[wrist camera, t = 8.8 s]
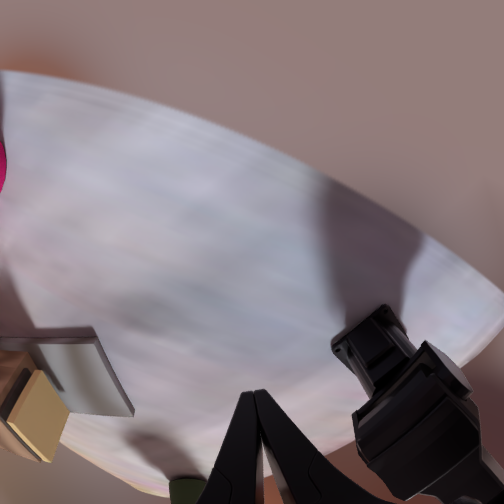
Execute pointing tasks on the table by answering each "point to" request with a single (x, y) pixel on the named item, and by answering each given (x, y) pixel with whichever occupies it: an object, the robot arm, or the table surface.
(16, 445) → the wooden drawer box
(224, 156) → the table surface
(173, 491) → the character mug
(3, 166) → the pepper mill
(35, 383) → the tan drawer
